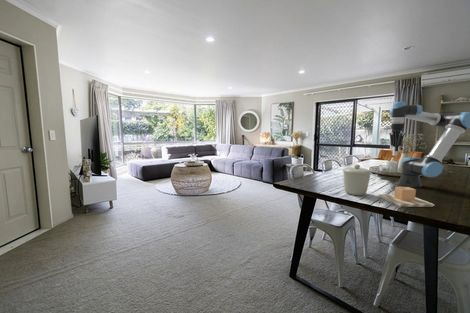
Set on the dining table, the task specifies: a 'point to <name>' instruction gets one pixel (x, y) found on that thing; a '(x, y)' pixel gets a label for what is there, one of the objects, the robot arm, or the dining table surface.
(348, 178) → the canister
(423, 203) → the cream flat piece
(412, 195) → the orange block
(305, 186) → the dining table surface
